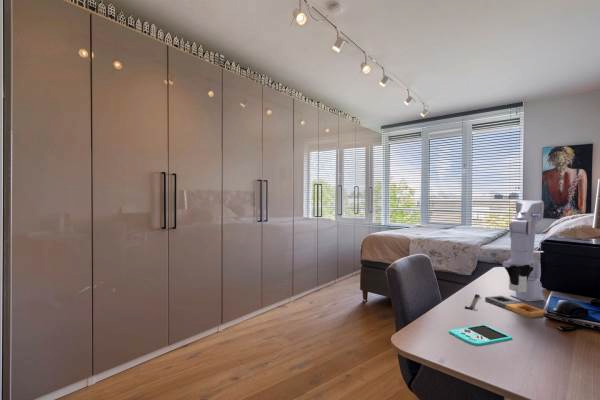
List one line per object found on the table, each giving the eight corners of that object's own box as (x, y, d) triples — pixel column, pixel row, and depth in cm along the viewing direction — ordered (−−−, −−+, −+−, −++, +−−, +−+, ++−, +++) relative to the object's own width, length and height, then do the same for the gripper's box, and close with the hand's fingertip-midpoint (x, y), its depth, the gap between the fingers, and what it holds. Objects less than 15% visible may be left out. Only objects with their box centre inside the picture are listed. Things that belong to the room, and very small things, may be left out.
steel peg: (516, 288, 123) (517, 273, 123) (526, 291, 120) (526, 276, 119) (509, 289, 122) (509, 274, 122) (518, 292, 118) (519, 277, 118)
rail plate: (501, 298, 133) (501, 295, 133) (547, 315, 114) (547, 311, 114) (485, 300, 130) (485, 297, 130) (529, 317, 112) (529, 313, 112)
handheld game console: (447, 333, 99) (447, 329, 99) (484, 327, 104) (484, 323, 104) (474, 348, 90) (474, 343, 90) (513, 340, 95) (513, 336, 95)
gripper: (523, 248, 126) (522, 280, 126) (496, 249, 122) (495, 282, 122) (540, 251, 120) (539, 285, 120) (512, 252, 116) (511, 287, 116)
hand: (518, 284), depth 121 cm, fingers closed on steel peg, 4 cm apart
